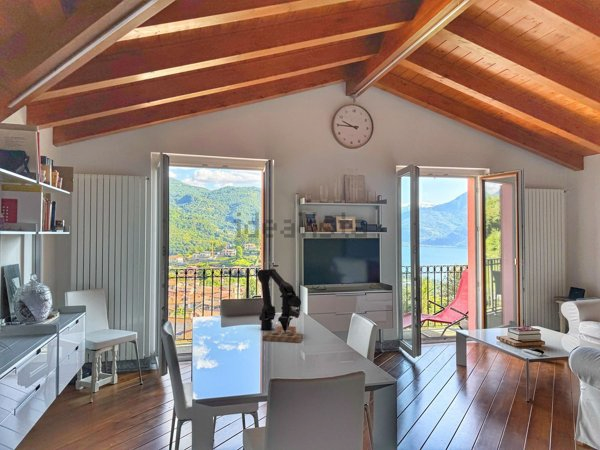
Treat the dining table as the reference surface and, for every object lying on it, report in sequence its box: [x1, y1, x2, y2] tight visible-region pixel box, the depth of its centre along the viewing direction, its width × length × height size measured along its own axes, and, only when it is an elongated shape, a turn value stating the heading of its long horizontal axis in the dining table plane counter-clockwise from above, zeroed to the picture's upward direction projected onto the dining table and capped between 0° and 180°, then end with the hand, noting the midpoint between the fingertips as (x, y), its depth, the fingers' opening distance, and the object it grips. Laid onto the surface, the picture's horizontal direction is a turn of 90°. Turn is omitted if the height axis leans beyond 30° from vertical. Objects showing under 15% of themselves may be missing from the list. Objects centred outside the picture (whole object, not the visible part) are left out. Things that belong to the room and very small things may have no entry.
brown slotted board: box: [262, 331, 304, 344], centre depth 239 cm, size 22×10×3 cm, turn 79°
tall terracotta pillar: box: [276, 325, 297, 333], centre depth 252 cm, size 12×3×5 cm, turn 79°
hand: (286, 330), depth 252 cm, fingers open, 6 cm apart
